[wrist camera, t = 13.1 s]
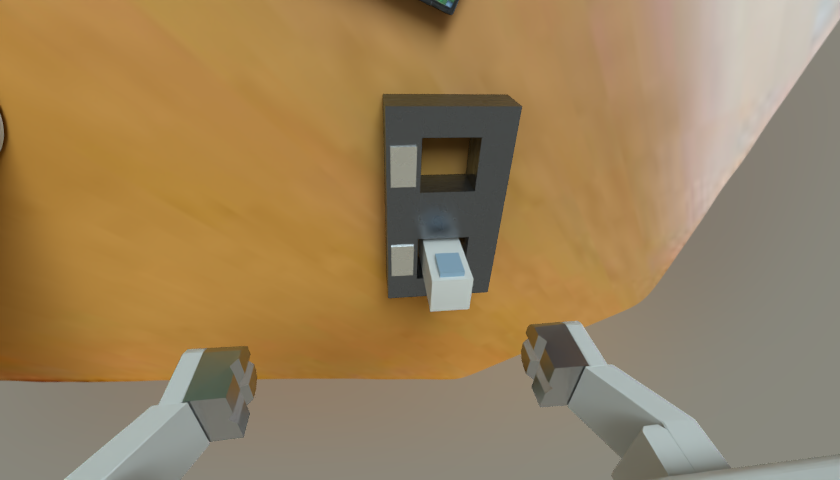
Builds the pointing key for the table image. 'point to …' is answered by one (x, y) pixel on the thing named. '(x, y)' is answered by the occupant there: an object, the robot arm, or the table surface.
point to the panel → (445, 181)
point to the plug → (445, 274)
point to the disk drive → (443, 5)
